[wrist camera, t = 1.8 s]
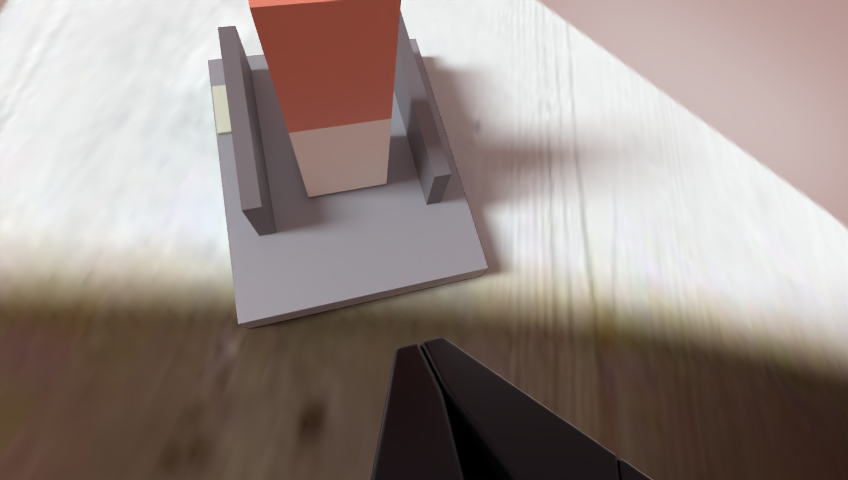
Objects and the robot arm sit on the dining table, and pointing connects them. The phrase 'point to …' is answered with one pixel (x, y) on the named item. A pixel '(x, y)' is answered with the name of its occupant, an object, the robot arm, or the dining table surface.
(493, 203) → the dining table surface
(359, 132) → the block
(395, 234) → the grey walled base plate
